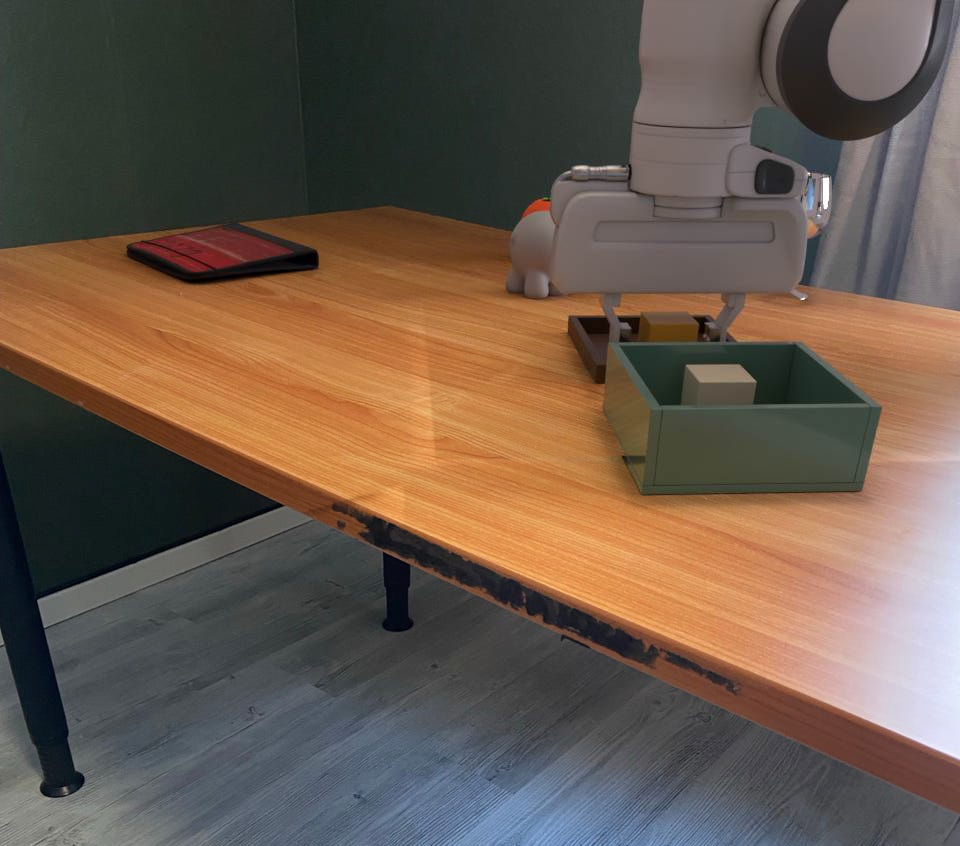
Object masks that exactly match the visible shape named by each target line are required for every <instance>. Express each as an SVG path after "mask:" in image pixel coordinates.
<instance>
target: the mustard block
mask: <svg viewBox="0 0 960 846" xmlns="http://www.w3.org/2000/svg"><path fill="white" fill-rule="evenodd" d="M639 315H640V325H639V335H638V342H697V336H698V329H699V323H698V322H697V321H696V320H695V319H694V318H693V317H692V316H691V315H692V314H690V313H689V312H688V311H684V310H683V311H640V314H639Z"/></svg>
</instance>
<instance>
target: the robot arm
mask: <svg viewBox="0 0 960 846" xmlns="http://www.w3.org/2000/svg"><path fill="white" fill-rule="evenodd" d="M955 3H956V0H643V4H642V6H643V7H642V13H641V20H640V21H641V22H640V33H639V42H638V43H639V44H638V63H639V67H640V76H641V77H640V78H641V79H640V80H641V83H640V92H639V96H638V99H637V103H636V105H635V108H634V111H633V117H632V125H631V136H630V147H629V148H630V149H629V158H628V160H629V161H628V164H606V165H599V166H590V165H587V164H577V165H573V166H571V168H570V170H567V171H565V172H562V173H561V174H560V175H558V177H556V178H555V180H554V182H553V184H552V186H551V189H550V196H549V197H550V215H551V219H552V221H553V222H554V224H555V230H554V235H553V241H552V247H551V255H550V265H549V276H550V279H551V281H552V283H553V284H554V285H555V287H556V288H557V289H558V290H559V291H560V292H561V293H563V294H569V295H598V302H599V303H598V304H599V305H600V307H601V309H602V311H603V314H604V315H606V318H607V320H608V322H609V323H610V333H609V342H617V343H619V342H630V341H629V338H630V337H631V329H632V328H631V327H630V326H629V324H628V323H620V322H619V320H618V318H617V316H616V315H617V314H616V311H615V309H614V308H619V307H620V306H621V299H622V295H632V294H633V295H636V294H637V295H640V294H641V295H642V294H643V295H644V294H645V295H650V294H652V295H653V294H654V295H655V294H659V295H661V294H662V295H663V294H664V295H665V294H666V295H667V294H668V295H669V294H672V295H673V294H674V295H675V294H677V295H679V294H680V295H681V294H683V295H685V294H698V295H699V294H704V295H705V294H707V295H708V294H720V295H721V296H720V300H721V302H723V303H724V305H723V307H722V308H721V310H720V312H719V313H718V315H717V317H716V318H714V319H715V321H714V322H705V324H704V332H705V334H704V335H703V339H702V341H703V342H725V341H726V334H727V332H728V328H730V327H731V326H732V325H733V323H734V322H735V320H736V319H737V318H738V317H739V315H740V314H741V312H742V311H743V310H744V308H745V304H746V298H747V297H746V296H747V294H791V293H790V292H791V291H792V290H793V289H795V288H796V287H797V286H798V285H799V284H800V283H801V281H802V280H803V279H802V278H803V275H804V269H805V264H806V257H807V249H808V248H807V247H808V240H807V233H808V218H807V212H806V209H805V207H804V205H803V204H802V203H801V202H800V201H799V200H798V199H796V198H794V197H798V196H800V195H801V194H802V193H803V192H804V190H805V188H806V185H807V180H808V173H809V171H808V170H807V168H806V167H805V166H803V165H802V164H799V163H798V162H796V161H794V160H792V159H790V158H787V157H785V156H782V155H779V154H776V153H774V152H773V150H771V149H769V148H767V147H765V146H761V145H758V144H755V145H751V143H752V142H751V132H752V124H753V119H754V115H755V113H756V112H757V111H758V110H759V109H761V108H767V107H768V108H776V109H777V110H779V111H782V112H784V113H785V114H787V115H788V116H790V117H792V118H794V119H796V120H798V121H799V122H800V123H801V124H802V125H803V126H804V127H805V128H806V129H808V130H809V131H811V132H812V133H814V134H815V135H818V136H820V137H822V138H825V139H828V140H832V141H839V142H840V141H841V142H854V141H860V140H866V139H868V138H871V137H872V138H873V137H875V136H877V135H880V134H882V133H884V132H886V131H888V130H889V129H891V128H892V127H894V126H896V125H897V124H899V123H900V122H902V121H903V120H904V119H905V118H907V117H908V116H909V115H910V114H911V113H912V112H913V111H914V110H915V109H916V108H917V107H918V105H920V104H921V102H922V101H923V99H924V98H925V97H926V96H927V94H928V93H929V92H930V89H931V88H932V86H933V84H934V83H935V80H936V79H937V78H938V75H939V73H940V71H941V69H942V65H943V62H944V59H945V56H946V53H947V49H948V44H949V40H950V34H951V28H952V22H953V17H954V16H953V15H954V9H955V5H956V4H955ZM567 178H570V180H565V179H567Z"/></svg>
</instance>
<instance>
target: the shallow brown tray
mask: <svg viewBox="0 0 960 846" xmlns="http://www.w3.org/2000/svg"><path fill="white" fill-rule="evenodd" d="M640 315H641V314H626V315H625V314H621V315H620V314H616V316H617V318H618V320H619V322H620V323H628V324H629V326H630V327H631V328H632V329H631V337H630V338H629V341H630V342H638V335H639V325H640ZM690 315H691V316H692V317H693V318H694V319H695V320H696V321H697V322H698V323H699V329H698V336H697V342H703V341H702V339H703V335H704V334H705V332H704V324H705V322H714V321H715V319H716V318H714V317H713V316H712V315H711V314H690ZM609 333H610V323H609V322H608V320H607V318H606V315H605V314H601V315H600V314H599V315H593V314H592V315H588V314H587V315H586V314H585V315H580V314H579V315H574V314H573V315H568V317H567V334H568V336H569V338H570V340H571V341H572V342H571V343H572V344H573V345H574V347H575V349H576V351H577V353H578V355H579V357H580V358H581V360H582V362H583V364H584V366H585V368H586V370H587V371H588V373H589V375H590V377H591V379H592V381H593V383H594V384H595V385H605V375H606V363H607V351H608V343H609ZM725 342H739V341H738V340H737V339H736V338H735V337H734V336H732V335H731V334H730V332H729V331H727V334H726V341H725Z"/></svg>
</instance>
